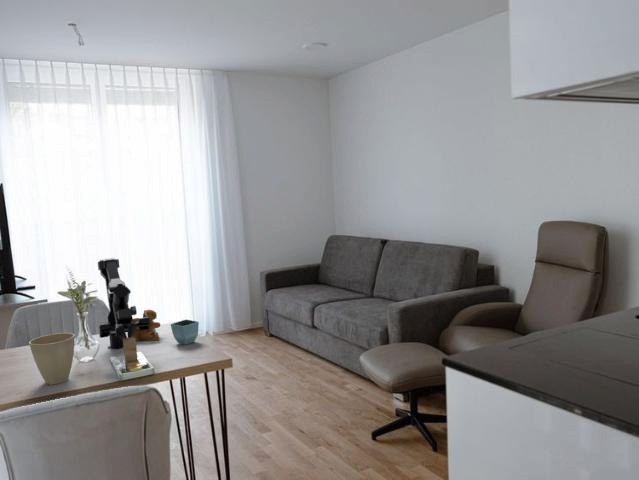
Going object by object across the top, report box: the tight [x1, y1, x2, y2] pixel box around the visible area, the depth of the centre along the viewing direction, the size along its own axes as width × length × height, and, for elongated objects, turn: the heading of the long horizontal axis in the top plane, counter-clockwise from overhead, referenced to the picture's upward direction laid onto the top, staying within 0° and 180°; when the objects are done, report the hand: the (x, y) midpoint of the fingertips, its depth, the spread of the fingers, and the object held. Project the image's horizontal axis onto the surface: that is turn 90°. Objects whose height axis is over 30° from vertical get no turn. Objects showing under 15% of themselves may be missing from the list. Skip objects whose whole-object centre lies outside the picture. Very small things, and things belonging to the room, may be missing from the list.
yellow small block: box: [128, 364, 143, 372], centre depth 203 cm, size 5×4×3 cm
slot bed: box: [109, 351, 149, 375], centre depth 215 cm, size 18×12×2 cm, turn 27°
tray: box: [115, 361, 156, 381], centre depth 203 cm, size 8×12×3 cm
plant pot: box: [28, 332, 76, 385], centre depth 202 cm, size 15×15×16 cm
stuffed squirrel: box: [132, 309, 161, 342], centre depth 252 cm, size 10×14×13 cm
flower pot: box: [170, 319, 199, 346], centre depth 242 cm, size 9×9×9 cm
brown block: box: [123, 337, 140, 373], centre depth 208 cm, size 8×4×11 cm, turn 28°
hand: (128, 345), depth 212 cm, fingers closed, pressing on brown block
